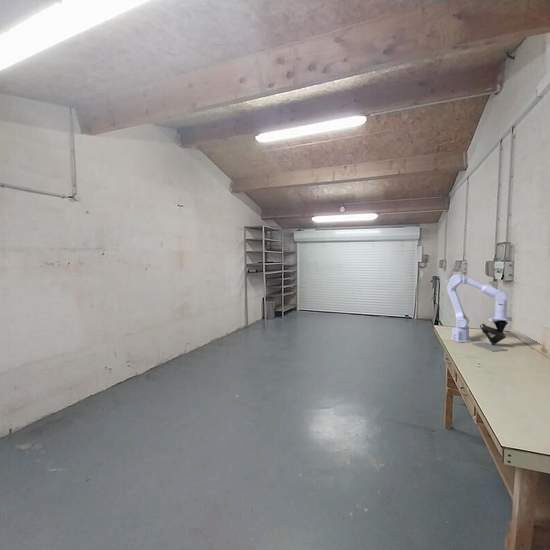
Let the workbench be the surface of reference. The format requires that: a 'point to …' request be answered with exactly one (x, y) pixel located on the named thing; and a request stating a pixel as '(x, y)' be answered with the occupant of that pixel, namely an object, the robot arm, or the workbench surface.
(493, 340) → the phone stand
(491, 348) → the mat
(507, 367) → the workbench surface
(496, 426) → the workbench surface
